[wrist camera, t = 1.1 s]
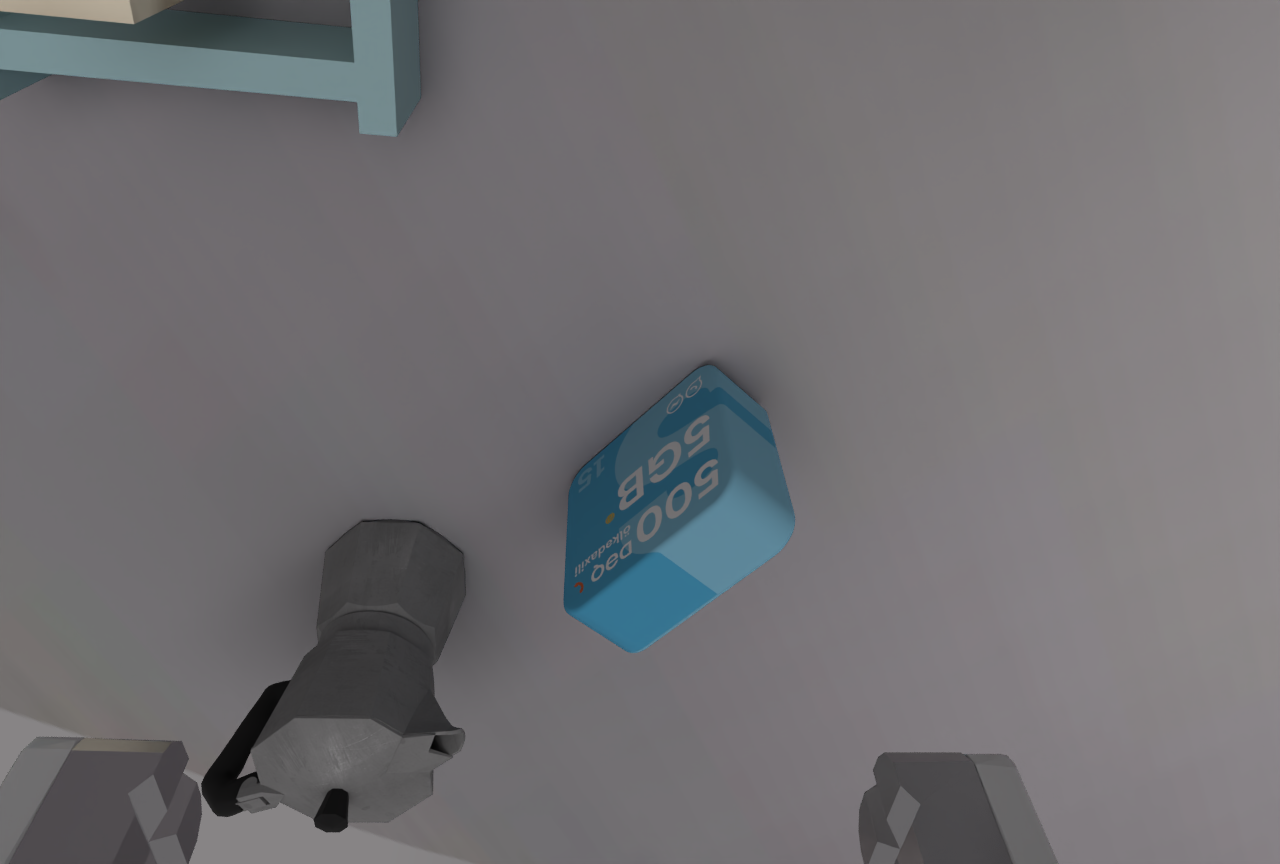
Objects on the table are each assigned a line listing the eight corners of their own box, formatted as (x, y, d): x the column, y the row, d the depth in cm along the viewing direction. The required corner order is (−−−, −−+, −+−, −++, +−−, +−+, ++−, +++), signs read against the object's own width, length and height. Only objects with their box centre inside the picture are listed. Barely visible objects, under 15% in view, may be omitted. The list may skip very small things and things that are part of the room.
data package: (712, 352, 51) (738, 486, 41) (765, 399, 52) (803, 538, 43) (567, 478, 55) (559, 625, 45) (621, 517, 57) (625, 666, 47)
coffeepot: (459, 488, 55) (406, 738, 41) (521, 592, 60) (494, 848, 46) (237, 555, 58) (112, 815, 43) (315, 650, 63) (227, 911, 48)
